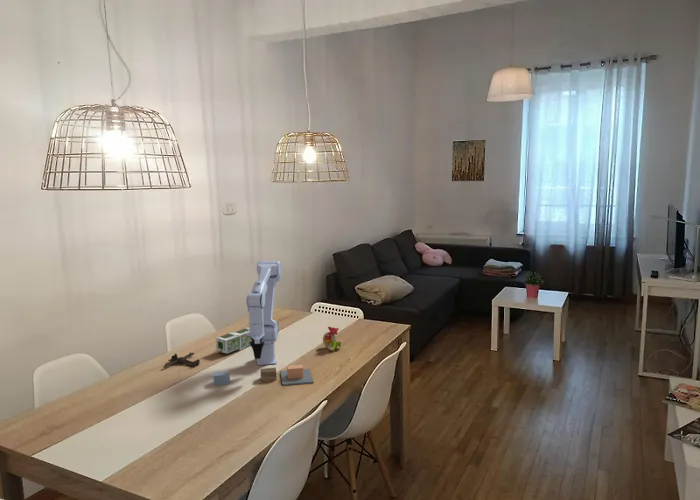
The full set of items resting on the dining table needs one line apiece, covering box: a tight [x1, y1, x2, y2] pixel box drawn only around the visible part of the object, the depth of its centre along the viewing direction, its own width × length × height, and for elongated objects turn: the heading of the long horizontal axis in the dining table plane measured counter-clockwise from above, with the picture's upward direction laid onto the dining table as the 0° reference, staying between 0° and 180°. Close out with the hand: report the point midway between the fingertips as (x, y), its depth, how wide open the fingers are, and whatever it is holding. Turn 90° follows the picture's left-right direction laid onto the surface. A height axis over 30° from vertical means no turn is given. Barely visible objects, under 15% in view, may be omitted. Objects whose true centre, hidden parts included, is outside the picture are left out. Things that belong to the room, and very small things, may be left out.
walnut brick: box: [260, 367, 278, 382], centre depth 207 cm, size 4×6×4 cm, turn 103°
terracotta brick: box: [286, 364, 304, 379], centre depth 208 cm, size 4×6×4 cm, turn 102°
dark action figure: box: [162, 351, 200, 369], centre depth 223 cm, size 18×4×14 cm
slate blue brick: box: [213, 370, 231, 386], centre depth 203 cm, size 4×6×4 cm, turn 101°
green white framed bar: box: [215, 319, 280, 354], centre depth 248 cm, size 35×8×7 cm, turn 146°
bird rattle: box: [322, 326, 342, 351], centre depth 241 cm, size 6×11×9 cm
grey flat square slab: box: [279, 368, 314, 386], centre depth 208 cm, size 13×12×1 cm
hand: (257, 355), depth 210 cm, fingers open, 7 cm apart
